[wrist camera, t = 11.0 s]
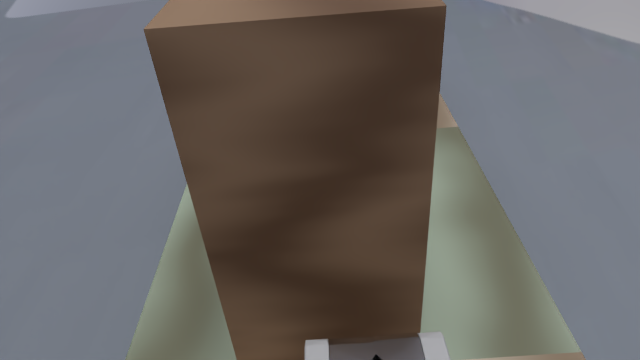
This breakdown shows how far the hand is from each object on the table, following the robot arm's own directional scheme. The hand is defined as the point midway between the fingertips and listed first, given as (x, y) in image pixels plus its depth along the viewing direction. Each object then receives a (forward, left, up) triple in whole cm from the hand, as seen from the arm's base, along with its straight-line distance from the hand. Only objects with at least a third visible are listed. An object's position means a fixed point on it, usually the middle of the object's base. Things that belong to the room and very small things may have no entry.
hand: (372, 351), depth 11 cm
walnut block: (-1, +10, -5) cm, 11 cm away
